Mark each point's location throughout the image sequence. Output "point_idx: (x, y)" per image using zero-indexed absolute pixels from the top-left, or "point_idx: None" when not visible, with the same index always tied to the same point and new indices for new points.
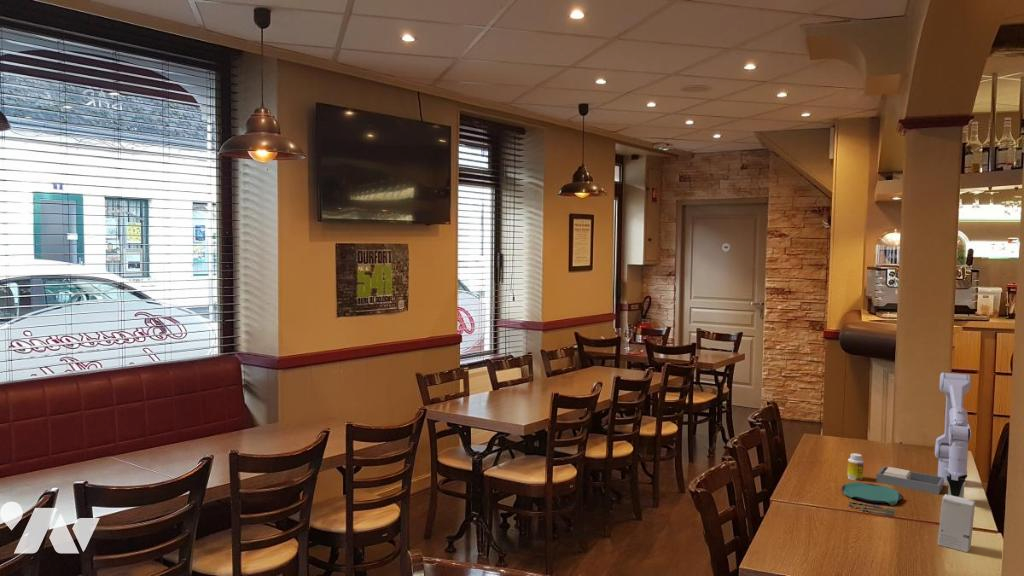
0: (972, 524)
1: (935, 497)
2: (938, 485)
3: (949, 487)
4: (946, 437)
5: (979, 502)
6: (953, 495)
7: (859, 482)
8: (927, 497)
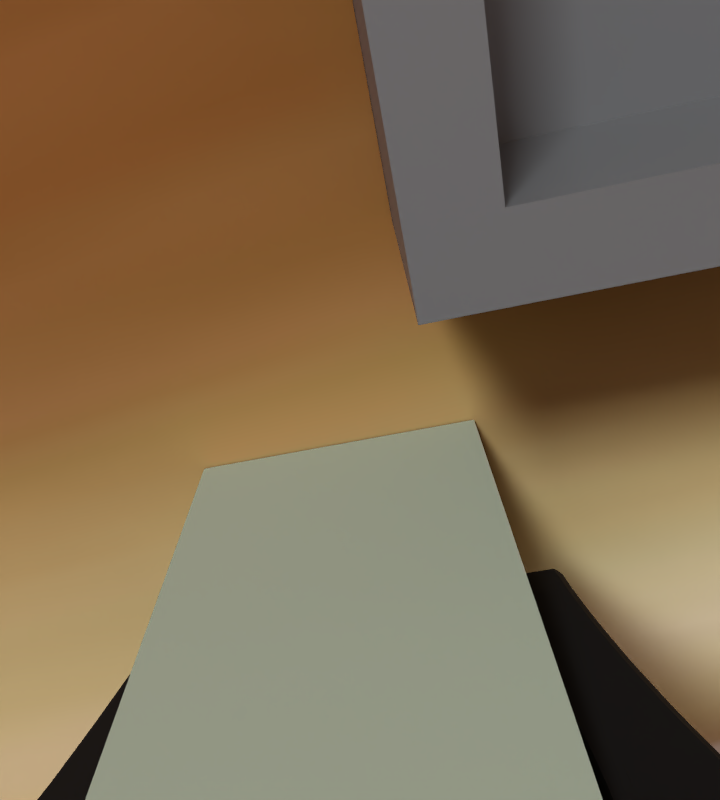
0: None
1: (243, 189)
2: (455, 281)
3: (112, 787)
4: None
5: None
6: None
7: None
8: (26, 32)
